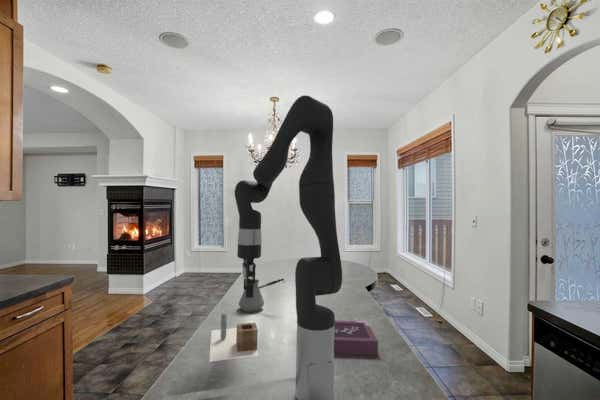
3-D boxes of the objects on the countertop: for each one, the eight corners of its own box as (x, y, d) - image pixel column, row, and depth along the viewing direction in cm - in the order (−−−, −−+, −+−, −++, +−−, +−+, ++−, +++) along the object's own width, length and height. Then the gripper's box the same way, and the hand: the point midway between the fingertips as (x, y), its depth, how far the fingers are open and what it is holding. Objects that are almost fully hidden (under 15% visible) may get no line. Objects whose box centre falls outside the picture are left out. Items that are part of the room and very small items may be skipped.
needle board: (258, 361, 84) (259, 327, 84) (209, 367, 80) (210, 331, 80) (250, 330, 105) (251, 303, 105) (211, 334, 101) (212, 306, 101)
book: (367, 334, 104) (367, 321, 105) (378, 357, 88) (378, 340, 89) (298, 332, 105) (299, 319, 105) (297, 354, 89) (297, 338, 89)
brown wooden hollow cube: (257, 349, 88) (257, 329, 88) (237, 351, 86) (237, 331, 86) (254, 341, 93) (255, 322, 94) (236, 342, 92) (236, 324, 92)
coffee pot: (233, 312, 124) (234, 277, 125) (245, 304, 135) (246, 272, 136) (279, 317, 119) (280, 281, 119) (287, 308, 130) (288, 275, 130)
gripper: (264, 245, 85) (263, 299, 85) (258, 240, 99) (257, 287, 98) (239, 245, 83) (237, 301, 83) (236, 240, 97) (235, 288, 96)
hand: (248, 293), depth 91 cm, fingers open, 8 cm apart
